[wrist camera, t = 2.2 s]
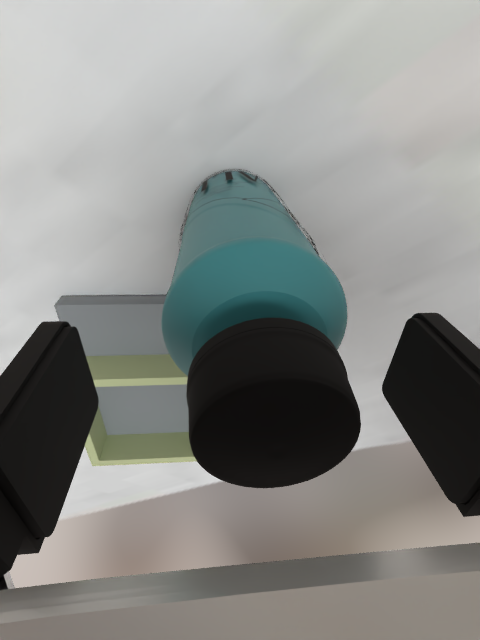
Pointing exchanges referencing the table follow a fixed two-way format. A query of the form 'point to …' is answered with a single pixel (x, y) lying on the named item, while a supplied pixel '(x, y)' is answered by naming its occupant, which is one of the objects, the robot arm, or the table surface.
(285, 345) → the beverage bottle
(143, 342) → the deck plate
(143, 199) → the table surface
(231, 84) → the table surface
